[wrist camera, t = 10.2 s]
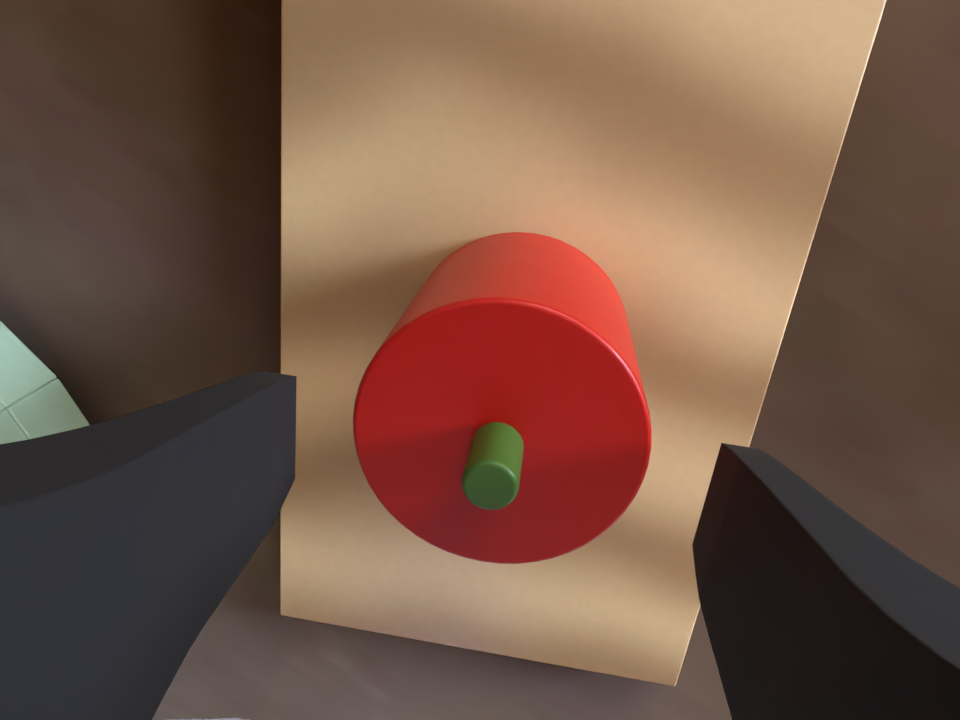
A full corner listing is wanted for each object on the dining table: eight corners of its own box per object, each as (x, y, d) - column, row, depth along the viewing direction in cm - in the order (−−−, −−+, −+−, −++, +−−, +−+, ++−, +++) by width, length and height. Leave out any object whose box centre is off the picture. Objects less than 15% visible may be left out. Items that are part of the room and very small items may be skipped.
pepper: (605, 448, 18) (625, 644, 11) (405, 416, 18) (321, 590, 12) (648, 248, 16) (700, 358, 9) (421, 216, 16) (329, 303, 10)
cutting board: (670, 656, 21) (676, 687, 20) (293, 588, 22) (279, 616, 21) (896, -107, 14) (925, -123, 12) (302, -169, 14) (280, -189, 13)
